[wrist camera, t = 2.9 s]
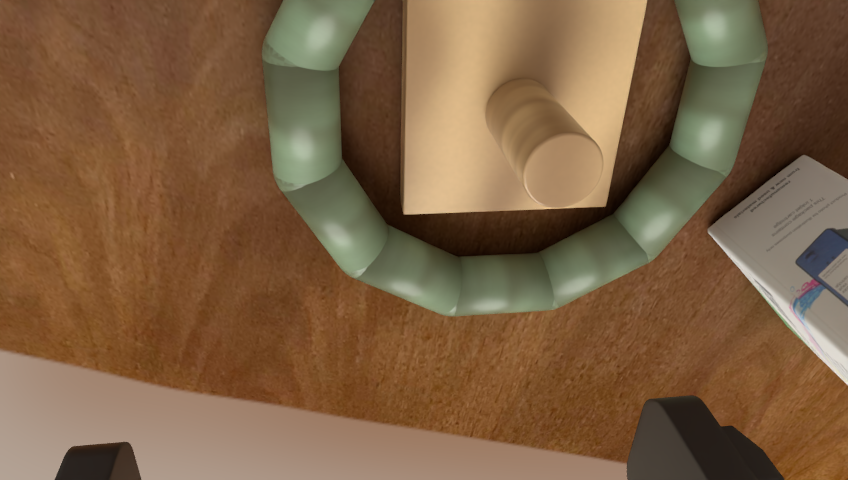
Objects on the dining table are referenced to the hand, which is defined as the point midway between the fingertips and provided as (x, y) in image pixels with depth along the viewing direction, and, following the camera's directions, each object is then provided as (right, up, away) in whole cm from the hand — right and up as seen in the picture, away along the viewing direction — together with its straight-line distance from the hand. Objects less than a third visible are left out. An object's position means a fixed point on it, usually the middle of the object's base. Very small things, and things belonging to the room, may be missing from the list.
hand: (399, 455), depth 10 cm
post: (+4, +9, +13) cm, 16 cm away
